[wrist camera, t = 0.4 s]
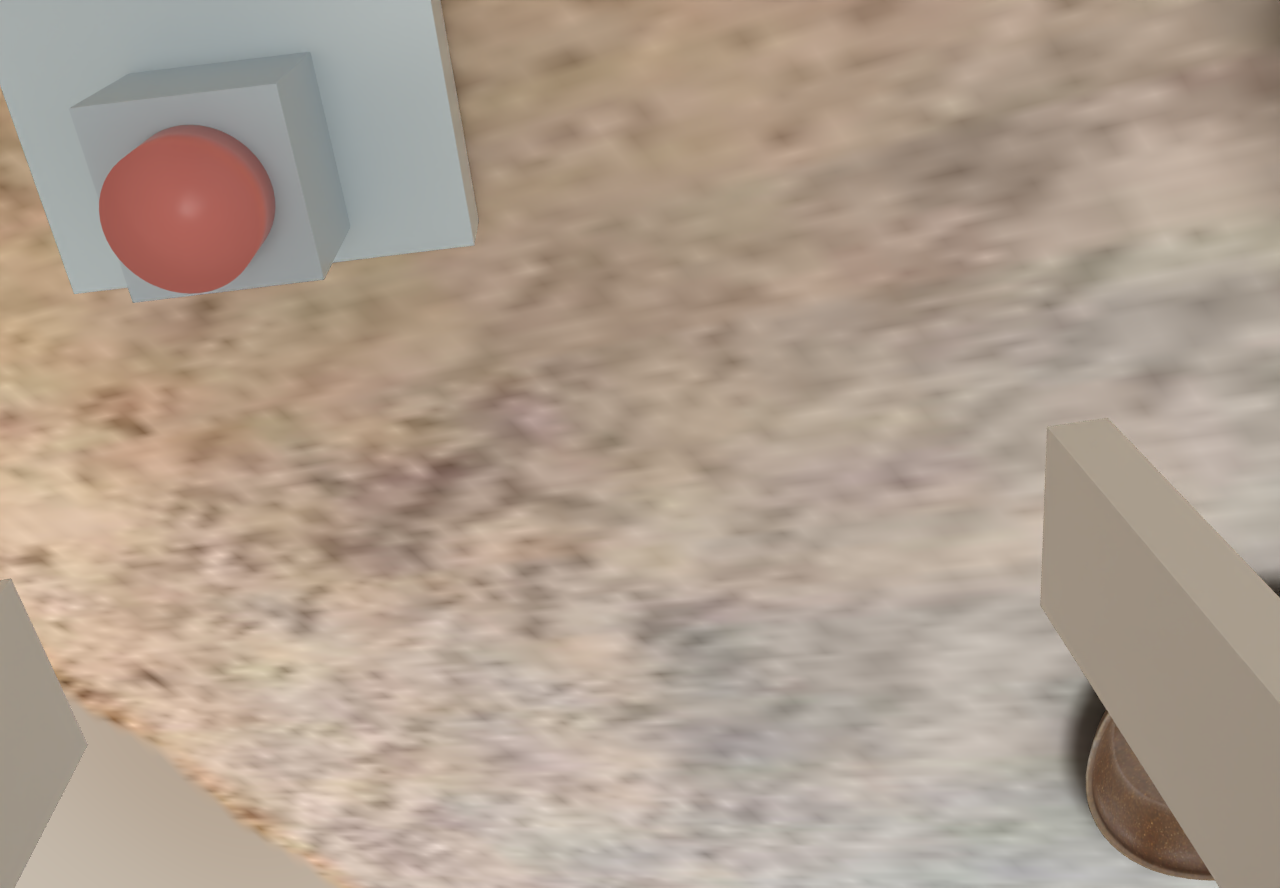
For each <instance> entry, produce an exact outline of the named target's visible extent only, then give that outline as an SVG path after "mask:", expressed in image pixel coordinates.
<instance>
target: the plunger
mask: <svg viewBox="0 0 1280 888" xmlns="http://www.w3.org/2000/svg"><path fill="white" fill-rule="evenodd" d="M99 215H100V222H101V226H102V230H103V232H104V235H105V237H106V240H107V242H108V244H109V245H110V247H111V249H112V250H113V252H114V253H115V255H116V256H117V257H118V259H119V260H120V261H121V262H122V263H123V264H124V265H125V266H126V267H127V268H128V269H129V270H130V271H132V272H133V273H134V274H135V275H137V276H138V277H140V278H141V279H143V280H145V281H146V282H148V283H150V284H152V285H154V286H157V287H159V288H162V289H165V290H168V291H172V292H178V293H189V294H192V293H203V292H209V291H212V290H215V289H218V288H221V287H223V286H225V285H227V284H228V283H230V282H231V281H233V280H234V279H236V278H237V277H238V276H239V275H240V274H241V273H242V272H243V271H244V269H245V268H246V267H247V266H248V264H249V263H250V261H251V260H252V258H253V257H254V255H255V254H256V253H257V251H258V250H259V248H260V247H261V245H262V244H263V243H264V241H265V240H266V238H267V236H268V234H269V233H270V230H271V228H272V225H273V221H274V217H275V196H274V190H273V187H272V184H271V181H270V178H269V176H268V174H267V172H266V170H265V168H264V167H263V165H262V164H261V162H260V161H259V160H258V158H257V157H256V156H255V155H254V154H253V153H252V152H251V151H250V150H249V149H248V148H247V147H246V146H245V145H244V144H242V143H241V142H240V141H239V140H237V139H235V138H234V137H232V136H230V135H228V134H226V133H224V132H222V131H220V130H217V129H214V128H211V127H206V126H201V125H179V126H174V127H170V128H167V129H164V130H162V131H160V132H158V133H156V134H154V135H153V136H151V137H150V138H148V139H147V140H146V141H144V142H143V143H142V144H141V145H139V146H138V147H137V148H135V149H134V150H133V151H131V152H130V153H129V154H128V155H126V156H125V157H124V158H122V159H121V160H120V161H119V162H118V163H117V164H116V165H115V166H114V167H113V168H112V170H111V171H110V172H109V174H108V175H107V177H106V179H105V181H104V183H103V186H102V189H101V193H100V199H99Z"/></svg>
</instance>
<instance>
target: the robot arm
mask: <svg viewBox="0 0 1280 888" xmlns="http://www.w3.org/2000/svg"><path fill="white" fill-rule="evenodd" d="M1040 606H1041V607H1042V609H1043V610H1044V612H1045V614H1046V615H1047V617H1048V618H1049V620H1050V621H1051V623H1052V625H1053V626H1054V628H1055V629H1056V631H1057V632H1058V634H1059V636H1060V637H1061V639H1062V640H1063V642H1064V644H1065V645H1066V647H1067V648H1068V650H1069V651H1070V653H1071V655H1072V656H1073V658H1074V659H1075V661H1076V662H1077V664H1078V666H1079V667H1080V669H1081V670H1082V672H1083V673H1084V675H1085V677H1086V678H1087V680H1088V681H1089V683H1090V684H1091V686H1092V688H1093V689H1094V691H1095V692H1096V694H1097V695H1098V697H1099V699H1100V700H1101V702H1102V703H1103V705H1104V706H1105V708H1106V710H1107V711H1108V713H1109V714H1110V716H1111V717H1112V719H1113V721H1114V722H1115V724H1116V725H1117V727H1118V728H1119V730H1120V732H1121V733H1122V735H1123V736H1124V738H1125V739H1126V741H1127V743H1128V744H1129V746H1130V747H1131V749H1132V751H1133V752H1134V754H1135V755H1136V757H1137V758H1138V760H1139V762H1140V763H1141V765H1142V766H1143V768H1144V769H1145V771H1146V773H1147V774H1148V776H1149V777H1150V779H1151V780H1152V782H1153V784H1154V785H1155V787H1156V788H1157V790H1158V791H1159V793H1160V795H1161V796H1162V798H1163V799H1164V801H1165V802H1166V804H1167V806H1168V807H1169V809H1170V810H1171V812H1172V813H1173V815H1174V817H1175V818H1176V820H1177V821H1178V823H1179V824H1180V826H1181V828H1182V829H1183V831H1184V832H1185V834H1186V835H1187V837H1188V839H1189V840H1190V842H1191V843H1192V845H1193V847H1194V848H1195V850H1196V851H1197V853H1198V854H1199V856H1200V858H1201V859H1202V861H1203V862H1204V864H1205V865H1206V867H1207V869H1208V870H1209V872H1210V873H1211V875H1212V876H1213V878H1214V880H1215V881H1216V883H1217V884H1218V886H1219V887H1220V888H1280V598H1279V596H1278V595H1277V594H1276V593H1275V592H1274V591H1273V590H1272V589H1271V588H1270V587H1269V586H1268V585H1267V584H1266V583H1265V582H1264V581H1263V580H1262V579H1261V578H1260V577H1259V576H1258V575H1257V574H1256V572H1255V571H1254V570H1253V569H1252V568H1251V567H1250V566H1249V565H1248V564H1247V563H1246V562H1245V561H1244V560H1243V559H1242V558H1241V557H1240V556H1239V555H1238V554H1237V553H1236V552H1235V551H1234V549H1233V548H1232V547H1231V546H1230V545H1229V544H1228V543H1227V542H1226V541H1225V540H1224V539H1223V538H1222V537H1221V536H1220V535H1219V534H1218V533H1217V532H1216V531H1215V530H1214V529H1213V528H1212V526H1211V525H1210V524H1209V523H1208V522H1207V521H1206V520H1205V519H1204V518H1203V517H1202V516H1201V515H1200V514H1199V513H1198V512H1197V511H1196V510H1195V509H1194V508H1193V507H1192V506H1191V505H1190V504H1189V502H1188V501H1187V500H1186V499H1185V498H1184V497H1183V496H1182V495H1181V494H1180V493H1179V492H1178V491H1177V490H1176V489H1175V488H1174V487H1173V486H1172V485H1171V484H1170V483H1169V482H1168V481H1167V479H1166V478H1165V477H1164V476H1163V475H1162V474H1161V473H1160V472H1159V471H1158V470H1157V469H1156V468H1155V467H1154V466H1153V465H1152V464H1151V463H1150V462H1149V461H1148V460H1147V459H1146V458H1145V457H1144V455H1143V454H1142V453H1141V452H1140V451H1139V450H1138V449H1137V448H1136V447H1135V446H1134V445H1133V444H1132V443H1131V442H1130V441H1129V440H1128V439H1127V438H1126V437H1125V436H1124V435H1123V434H1122V432H1121V431H1120V430H1119V429H1118V428H1117V427H1116V426H1115V425H1114V424H1113V423H1112V422H1111V421H1110V420H1109V419H1108V418H1104V419H1097V420H1090V421H1083V422H1076V423H1070V424H1063V425H1056V426H1049V427H1047V441H1046V468H1045V494H1044V521H1043V548H1042V575H1041V601H1040ZM87 745H88V744H87V742H86V740H85V737H84V735H83V733H82V731H81V729H80V727H79V725H78V722H77V720H76V718H75V716H74V714H73V711H72V709H71V707H70V705H69V703H68V701H67V698H66V696H65V694H64V692H63V690H62V688H61V685H60V683H59V681H58V679H57V677H56V675H55V673H54V670H53V668H52V666H51V664H50V662H49V660H48V657H47V655H46V653H45V651H44V649H43V647H42V644H41V642H40V640H39V638H38V636H37V634H36V631H35V629H34V627H33V625H32V623H31V621H30V618H29V616H28V614H27V612H26V610H25V608H24V605H23V603H22V601H21V599H20V597H19V595H18V592H17V590H16V588H15V586H14V584H13V582H12V579H5V580H0V888H15V886H16V884H17V882H18V880H19V878H20V876H21V874H22V872H23V870H24V868H25V866H26V864H27V862H28V860H29V859H30V857H31V854H32V853H33V851H34V849H35V847H36V845H37V843H38V841H39V839H40V837H41V835H42V833H43V831H44V829H45V827H46V825H47V823H48V822H49V820H50V818H51V816H52V813H53V812H54V810H55V808H56V806H57V804H58V802H59V800H60V798H61V796H62V794H63V792H64V790H65V788H66V786H67V785H68V783H69V780H70V779H71V777H72V775H73V773H74V771H75V769H76V767H77V765H78V763H79V761H80V759H81V757H82V755H83V753H84V751H85V749H86V748H87Z"/></svg>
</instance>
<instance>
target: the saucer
mask: <svg viewBox="0 0 1280 888" xmlns="http://www.w3.org/2000/svg"><path fill="white" fill-rule="evenodd" d="M1086 795H1087V800H1088V806H1089V809H1090V811H1091V814H1092V816H1093V819H1094V821H1095V823H1096V825H1097V827H1098V828H1099V830H1100V831H1101V833H1102V834H1103V836H1104V837H1105V838H1106V839H1107V840H1108V841H1109V843H1110V844H1111V845H1112V846H1113V847H1115V848H1116V849H1117V850H1118V851H1119V852H1121V853H1122V854H1123V855H1124V856H1126V857H1128V858H1129V859H1130V860H1132V861H1134V862H1136V863H1138V864H1140V865H1142V866H1144V867H1146V868H1148V869H1151V870H1153V871H1156V872H1159V873H1163V874H1166V875H1170V876H1175V877H1182V878H1187V879H1196V880H1214V878H1213V876H1212V875H1211V873H1210V872H1209V870H1208V869H1207V867H1206V865H1205V864H1204V862H1203V861H1202V859H1201V858H1200V856H1199V854H1198V853H1197V851H1196V850H1195V848H1194V847H1193V845H1192V843H1191V842H1190V840H1189V839H1188V837H1187V835H1186V834H1185V832H1184V831H1183V829H1182V828H1181V826H1180V824H1179V823H1178V821H1177V820H1176V818H1175V817H1174V815H1173V813H1172V812H1171V810H1170V809H1169V807H1168V806H1167V804H1166V802H1165V801H1164V799H1163V798H1162V796H1161V795H1160V793H1159V791H1158V790H1157V788H1156V787H1155V785H1154V784H1153V782H1152V780H1151V779H1150V777H1149V776H1148V774H1147V773H1146V771H1145V769H1144V768H1143V766H1142V765H1141V763H1140V762H1139V760H1138V758H1137V757H1136V755H1135V754H1134V752H1133V751H1132V749H1131V747H1130V746H1129V744H1128V743H1127V741H1126V739H1125V738H1124V736H1123V735H1122V733H1121V732H1120V730H1119V728H1118V727H1117V725H1116V724H1115V722H1114V721H1113V719H1112V717H1111V716H1110V714H1109V713H1108V711H1107V710H1106V711H1105V712H1104V714H1103V716H1102V718H1101V720H1100V723H1099V725H1098V728H1097V731H1096V733H1095V736H1094V739H1093V743H1092V746H1091V750H1090V754H1089V759H1088V764H1087V770H1086Z"/></svg>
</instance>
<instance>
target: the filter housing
mask: <svg viewBox="0 0 1280 888" xmlns="http://www.w3.org/2000/svg"><path fill="white" fill-rule="evenodd" d="M0 86H1V89H2V92H3V95H4V98H5V101H6V103H7V106H8V109H9V112H10V115H11V117H12V120H13V123H14V126H15V129H16V132H17V134H18V137H19V140H20V143H21V146H22V148H23V151H24V154H25V157H26V160H27V163H28V165H29V168H30V171H31V174H32V177H33V179H34V182H35V185H36V188H37V191H38V194H39V196H40V199H41V202H42V205H43V208H44V211H45V213H46V216H47V219H48V222H49V225H50V227H51V230H52V233H53V236H54V239H55V242H56V244H57V247H58V250H59V253H60V256H61V258H62V261H63V264H64V267H65V270H66V273H67V275H68V278H69V281H70V284H71V287H72V289H73V292H74V294H79V293H87V292H95V291H103V290H111V289H120V288H128V290H129V293H130V296H131V299H132V302H133V303H135V302H144V301H152V300H160V299H168V298H176V297H185V296H193V295H201V294H209V293H218V292H226V291H234V290H242V289H250V288H259V287H267V286H275V285H283V284H292V283H300V282H308V281H316V280H324V279H325V277H326V275H327V273H328V271H329V269H330V267H331V265H332V263H334V262H342V261H350V260H358V259H367V258H375V257H383V256H391V255H400V254H408V253H416V252H424V251H432V250H441V249H449V248H457V247H465V246H474V244H475V239H476V234H477V228H478V223H479V218H478V212H477V206H476V201H475V195H474V189H473V184H472V178H471V172H470V166H469V161H468V155H467V149H466V143H465V138H464V132H463V126H462V120H461V115H460V109H459V103H458V97H457V92H456V86H455V80H454V75H453V69H452V63H451V57H450V52H449V46H448V40H447V34H446V29H445V23H444V17H443V11H442V6H441V0H0ZM179 125H201V126H206V127H211V128H214V129H217V130H220V131H222V132H224V133H226V134H228V135H230V136H232V137H234V138H235V139H237V140H239V141H240V142H241V143H242V144H244V145H245V146H246V147H247V148H248V149H249V150H250V151H251V152H252V153H253V154H254V155H255V156H256V157H257V158H258V160H259V161H260V162H261V164H262V165H263V167H264V168H265V170H266V172H267V174H268V176H269V178H270V181H271V184H272V187H273V190H274V196H275V217H274V221H273V225H272V228H271V230H270V233H269V234H268V236H267V238H266V240H265V241H264V243H263V244H262V245H261V247H260V248H259V250H258V251H257V253H256V254H255V255H254V257H253V258H252V260H251V261H250V263H249V264H248V266H247V267H246V268H245V269H244V271H243V272H242V273H241V274H240V275H239V276H238V277H237V278H236V279H234V280H233V281H231V282H230V283H228V284H227V285H225V286H223V287H221V288H218V289H215V290H212V291H209V292H203V293H192V294H189V293H178V292H172V291H168V290H165V289H162V288H159V287H157V286H154V285H152V284H150V283H148V282H146V281H145V280H143V279H141V278H140V277H138V276H137V275H135V274H134V273H133V272H132V271H130V270H129V269H128V268H127V267H126V266H125V265H124V264H123V263H122V262H121V261H120V260H119V259H118V257H117V256H116V255H115V253H114V252H113V250H112V249H111V247H110V245H109V244H108V242H107V240H106V237H105V235H104V232H103V230H102V226H101V222H100V215H99V199H100V193H101V189H102V186H103V183H104V181H105V179H106V177H107V175H108V174H109V172H110V171H111V170H112V168H113V167H114V166H115V165H116V164H117V163H118V162H119V161H120V160H121V159H122V158H124V157H125V156H126V155H128V154H129V153H130V152H131V151H133V150H134V149H135V148H137V147H138V146H139V145H141V144H142V143H143V142H144V141H146V140H147V139H148V138H150V137H151V136H153V135H154V134H156V133H158V132H160V131H162V130H164V129H167V128H170V127H174V126H179Z"/></svg>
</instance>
